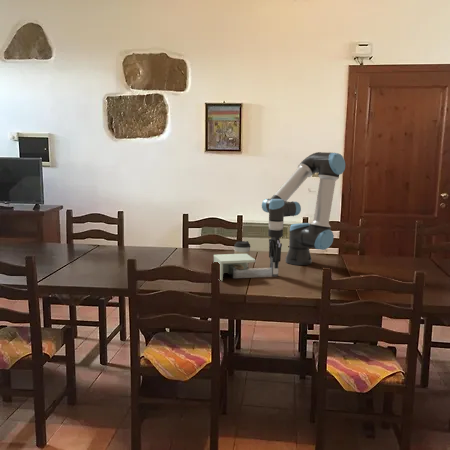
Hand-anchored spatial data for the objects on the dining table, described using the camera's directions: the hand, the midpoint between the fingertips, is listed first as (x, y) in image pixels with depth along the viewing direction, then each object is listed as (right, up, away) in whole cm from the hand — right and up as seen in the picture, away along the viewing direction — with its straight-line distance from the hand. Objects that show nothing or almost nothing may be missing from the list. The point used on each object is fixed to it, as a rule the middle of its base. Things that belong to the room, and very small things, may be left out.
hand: (274, 272), depth 269 cm
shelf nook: (-21, -1, -2) cm, 21 cm away
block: (-19, -1, +1) cm, 19 cm away
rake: (-11, -1, 0) cm, 11 cm away
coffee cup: (-16, +1, +15) cm, 22 cm away
